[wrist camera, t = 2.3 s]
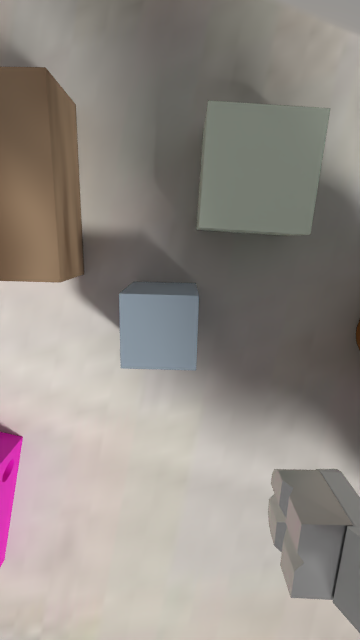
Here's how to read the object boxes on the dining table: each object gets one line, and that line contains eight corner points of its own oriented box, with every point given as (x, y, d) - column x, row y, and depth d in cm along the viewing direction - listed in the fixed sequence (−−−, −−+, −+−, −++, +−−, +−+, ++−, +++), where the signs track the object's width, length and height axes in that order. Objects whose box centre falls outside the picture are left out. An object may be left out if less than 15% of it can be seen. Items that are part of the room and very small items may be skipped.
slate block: (195, 283, 26) (199, 295, 20) (193, 342, 27) (196, 370, 21) (134, 281, 26) (118, 293, 20) (134, 340, 27) (120, 368, 21)
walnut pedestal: (75, 104, 23) (45, 67, 18) (84, 274, 26) (60, 282, 21) (-51, 101, 23) (-115, 64, 18) (-28, 271, 26) (-78, 278, 21)
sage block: (299, 135, 23) (330, 108, 18) (285, 235, 25) (310, 234, 20) (203, 129, 23) (208, 100, 18) (196, 229, 25) (198, 227, 20)
